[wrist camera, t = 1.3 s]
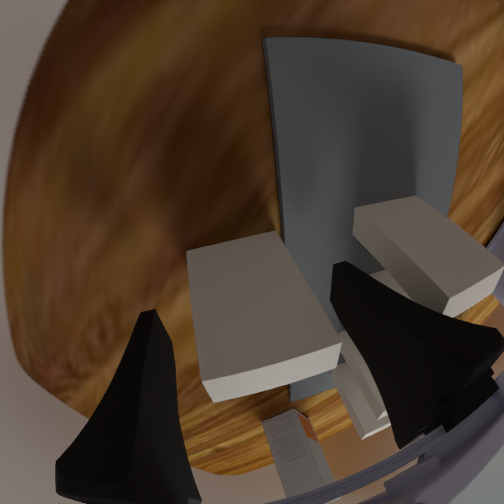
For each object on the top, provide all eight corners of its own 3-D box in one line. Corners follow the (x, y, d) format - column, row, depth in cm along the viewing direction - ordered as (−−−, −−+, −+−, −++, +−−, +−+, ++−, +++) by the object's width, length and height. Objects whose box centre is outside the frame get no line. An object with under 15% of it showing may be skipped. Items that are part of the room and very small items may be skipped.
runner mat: (262, 39, 9) (265, 37, 8) (455, 64, 10) (462, 65, 10) (289, 398, 25) (290, 402, 24) (392, 358, 26) (394, 361, 26)
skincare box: (310, 417, 30) (342, 497, 21) (279, 430, 31) (307, 509, 21) (295, 406, 27) (332, 502, 17) (259, 421, 27) (290, 515, 17)
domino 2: (339, 332, 19) (383, 411, 14) (387, 314, 20) (435, 382, 14) (336, 345, 20) (376, 420, 15) (383, 326, 21) (427, 392, 15)
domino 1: (186, 251, 13) (201, 381, 8) (275, 230, 14) (341, 342, 8) (194, 276, 14) (213, 402, 8) (277, 256, 15) (336, 367, 9)
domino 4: (354, 207, 13) (449, 298, 8) (415, 195, 14) (505, 265, 8) (352, 234, 14) (435, 328, 9) (411, 219, 15) (492, 292, 9)
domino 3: (332, 366, 22) (365, 434, 17) (375, 349, 23) (411, 410, 17) (330, 375, 23) (361, 439, 17) (371, 359, 24) (405, 417, 18)
